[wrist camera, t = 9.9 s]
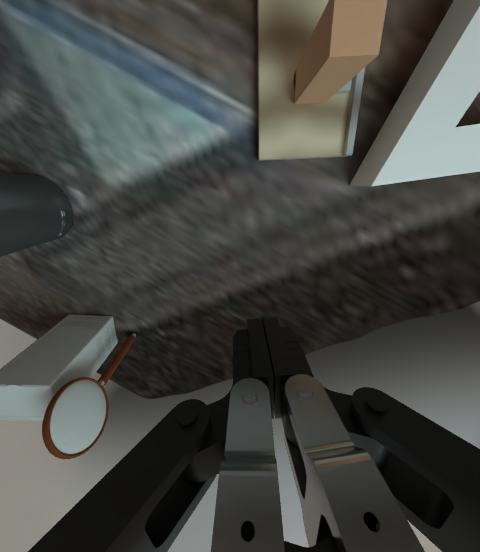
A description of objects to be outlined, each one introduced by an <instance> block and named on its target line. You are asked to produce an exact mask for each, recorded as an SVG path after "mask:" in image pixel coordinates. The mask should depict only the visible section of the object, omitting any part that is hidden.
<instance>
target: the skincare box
mask: <svg viewBox="0 0 480 552" xmlns="http://www.w3.org/2000/svg"><path fill="white" fill-rule="evenodd" d="M117 343H118V342H117V336H116V331H115V326H114V320H113V316H94V315H68V316H67V317H65V318H64V319H63V320H61V321H60V322H59V323H58V324H57V325H55V326H54V327H53V328H52V329H50V330H49V331H48V332H46V333H45V334H44V335H43V336H41V337H40V338H39V339H38V340H36V341H35V342H34V343H33V344H31V345H30V346H29V347H28V348H26V349H25V350H24V351H22V352H21V353H20V354H19V355H17V356H16V357H15V358H14V359H12V360H11V361H10V362H9V363H7V364H6V365H5V366H4V367H2V368H1V369H0V420H43V418H44V415H45V411H46V409H47V406H48V404H49V402H50V401H51V399H52V398H53V396H54V395H55V394H56V392H57V391H58V390H59V389H60V388H61V387H62V386H64V385H65V384H66V383H68V382H70V381H72V380H74V379H77V378H82V377H88V378H92V377H93V375H94V374H95V373H96V371H97V370H98V369H99V367H100V366H101V365H102V363H103V362H104V361H105V359H106V358H107V356H108V355H109V354H110V352H111V351H112V350H113V348H114V347H115V346H116V344H117Z"/></svg>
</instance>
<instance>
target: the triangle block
mask: <svg viewBox="0 0 480 552" xmlns="http://www.w3.org/2000/svg"><path fill="white" fill-rule="evenodd" d="M479 91H480V0H454V1H453V3H452V4H451V6H450V8H449V10H448V11H447V13H446V15H445V17H444V18H443V20H442V22H441V24H440V26H439V27H438V29H437V31H436V33H435V34H434V36H433V38H432V40H431V41H430V43H429V45H428V47H427V49H426V50H425V52H424V54H423V56H422V57H421V59H420V61H419V63H418V64H417V66H416V68H415V70H414V72H413V73H412V75H411V77H410V79H409V80H408V82H407V84H406V86H405V87H404V89H403V91H402V93H401V95H400V96H399V98H398V100H397V102H396V103H395V105H394V107H393V109H392V110H391V112H390V114H389V116H388V118H387V119H386V121H385V123H384V125H383V126H382V128H381V130H380V132H379V133H378V135H377V137H376V139H375V141H374V142H373V144H372V146H371V148H370V149H369V151H368V153H367V155H366V156H365V158H364V160H363V162H362V164H361V165H360V167H359V169H358V171H357V172H356V174H355V176H354V178H353V179H352V181H351V183H350V185H353V186H377V185H384V184H392V183H399V182H406V181H413V180H421V179H428V178H435V177H442V176H450V175H457V174H464V173H471V172H479V171H480V124H474V125H468V126H461V127H456V125H457V124H458V123H459V121H460V120H461V118H462V117H463V115H464V114H465V112H466V111H467V109H468V108H469V106H470V105H471V103H472V102H473V100H474V99H475V97H476V96H477V94H478V93H479Z"/></svg>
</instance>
